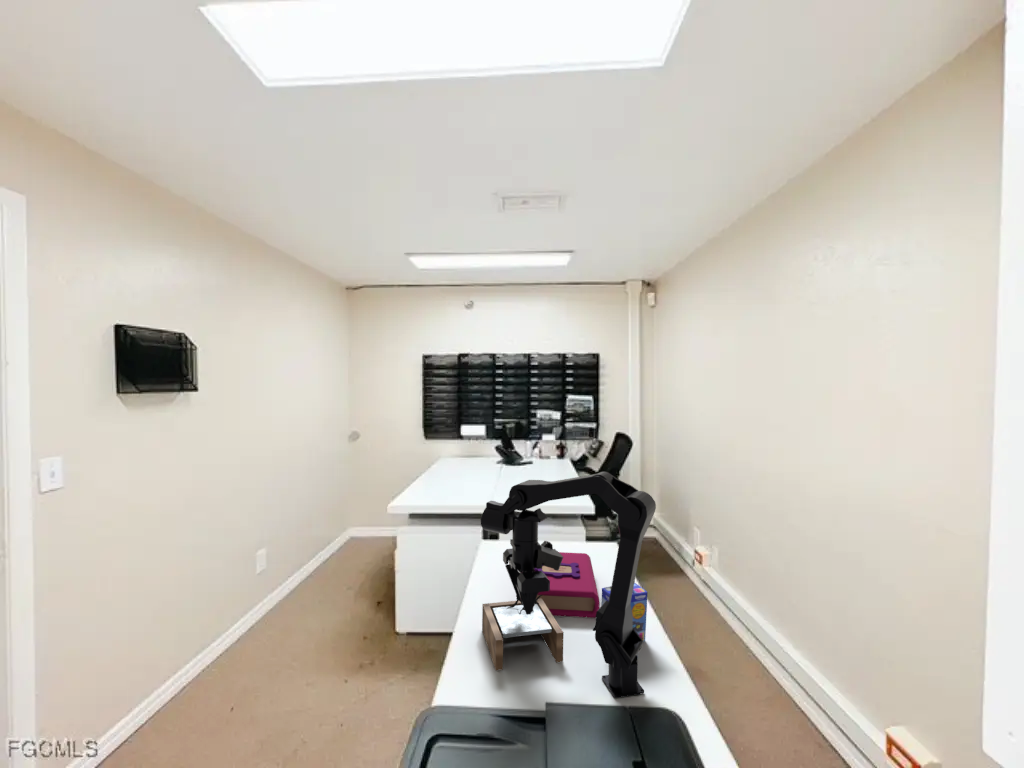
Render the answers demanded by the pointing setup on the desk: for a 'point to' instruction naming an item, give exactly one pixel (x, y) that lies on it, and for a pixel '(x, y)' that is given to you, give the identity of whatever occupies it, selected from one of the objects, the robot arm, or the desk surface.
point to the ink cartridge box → (634, 607)
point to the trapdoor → (520, 621)
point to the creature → (522, 604)
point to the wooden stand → (496, 640)
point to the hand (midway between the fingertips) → (524, 606)
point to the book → (571, 587)
